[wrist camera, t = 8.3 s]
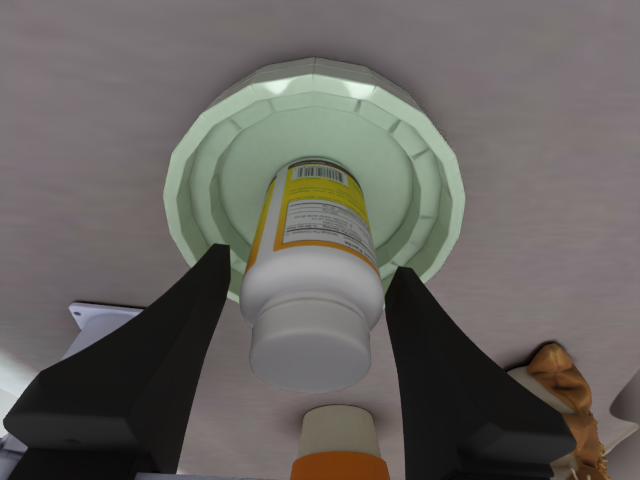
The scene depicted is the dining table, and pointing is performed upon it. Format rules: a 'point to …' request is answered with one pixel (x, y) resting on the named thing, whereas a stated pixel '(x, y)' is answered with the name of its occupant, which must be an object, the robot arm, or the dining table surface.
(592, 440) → the stuffed squirrel
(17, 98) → the dining table surface
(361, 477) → the reusable coffee cup
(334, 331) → the supplement bottle
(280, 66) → the bowl
